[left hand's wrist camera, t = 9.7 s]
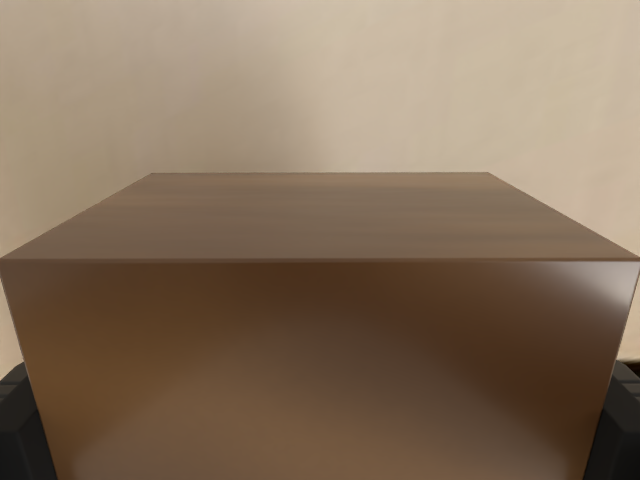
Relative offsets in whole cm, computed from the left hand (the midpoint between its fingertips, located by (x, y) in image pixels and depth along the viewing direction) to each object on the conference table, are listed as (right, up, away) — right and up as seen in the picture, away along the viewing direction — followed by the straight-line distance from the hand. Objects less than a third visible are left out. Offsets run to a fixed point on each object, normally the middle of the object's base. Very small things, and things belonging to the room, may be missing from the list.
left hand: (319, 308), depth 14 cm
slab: (0, -33, +13) cm, 35 cm away
